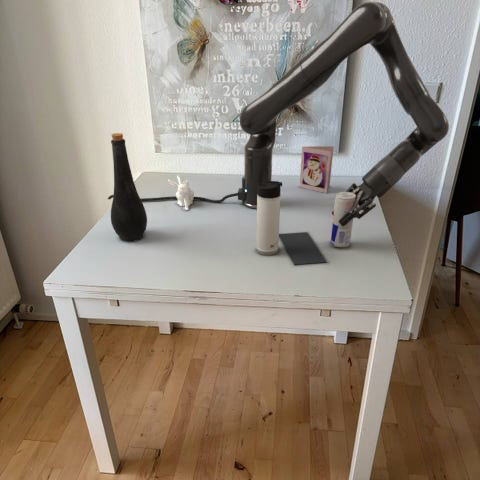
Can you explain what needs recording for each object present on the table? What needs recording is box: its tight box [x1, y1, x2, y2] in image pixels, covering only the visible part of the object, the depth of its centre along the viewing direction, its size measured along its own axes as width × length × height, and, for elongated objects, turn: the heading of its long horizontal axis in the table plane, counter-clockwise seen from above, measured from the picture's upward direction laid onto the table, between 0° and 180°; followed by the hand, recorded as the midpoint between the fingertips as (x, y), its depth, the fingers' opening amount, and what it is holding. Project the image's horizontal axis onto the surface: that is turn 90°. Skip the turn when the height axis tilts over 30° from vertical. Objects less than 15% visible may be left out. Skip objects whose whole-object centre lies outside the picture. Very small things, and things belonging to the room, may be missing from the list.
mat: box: [279, 231, 327, 266], centre depth 142 cm, size 20×9×1 cm, turn 9°
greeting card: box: [299, 146, 335, 194], centre depth 180 cm, size 11×7×15 cm, turn 55°
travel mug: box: [256, 180, 283, 256], centre depth 135 cm, size 6×7×20 cm
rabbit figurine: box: [167, 175, 195, 211], centre depth 169 cm, size 12×8×10 cm, turn 170°
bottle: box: [110, 132, 148, 243], centre depth 140 cm, size 11×11×30 cm
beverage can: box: [330, 191, 356, 248], centre depth 139 cm, size 6×6×15 cm
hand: (337, 219), depth 139 cm, fingers closed on beverage can, 5 cm apart
